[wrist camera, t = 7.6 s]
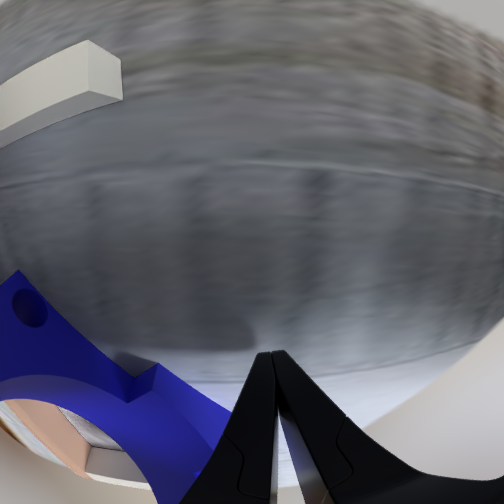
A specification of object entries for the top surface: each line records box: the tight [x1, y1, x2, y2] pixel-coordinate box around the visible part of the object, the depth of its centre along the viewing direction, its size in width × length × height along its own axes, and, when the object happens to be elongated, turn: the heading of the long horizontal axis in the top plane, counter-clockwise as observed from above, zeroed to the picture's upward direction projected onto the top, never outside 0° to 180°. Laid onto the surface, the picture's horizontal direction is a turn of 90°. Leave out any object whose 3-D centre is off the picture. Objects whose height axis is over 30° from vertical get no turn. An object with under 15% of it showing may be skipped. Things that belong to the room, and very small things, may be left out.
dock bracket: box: [0, 40, 152, 490], centre depth 8 cm, size 9×18×2 cm, turn 5°
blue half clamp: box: [0, 270, 232, 504], centre depth 7 cm, size 12×4×6 cm, turn 38°
